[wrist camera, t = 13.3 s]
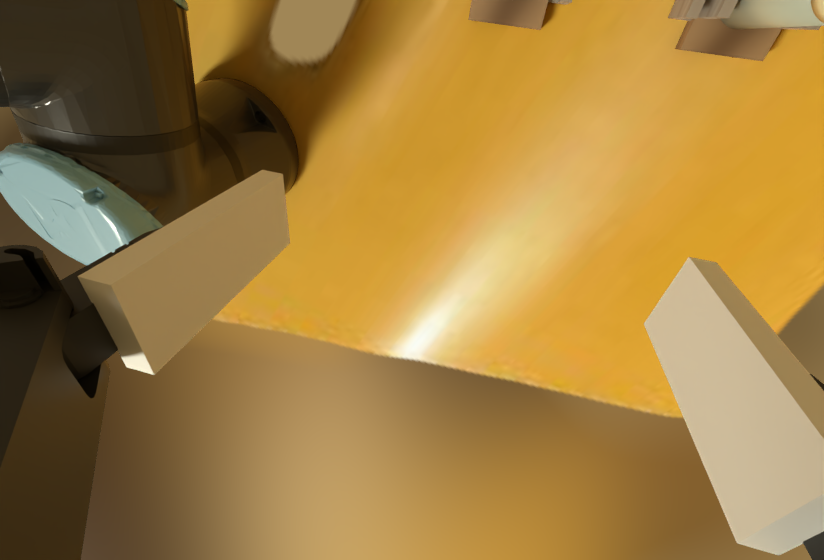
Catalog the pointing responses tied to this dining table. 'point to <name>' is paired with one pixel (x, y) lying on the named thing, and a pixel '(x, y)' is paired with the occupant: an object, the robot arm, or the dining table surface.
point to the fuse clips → (698, 3)
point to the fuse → (775, 14)
